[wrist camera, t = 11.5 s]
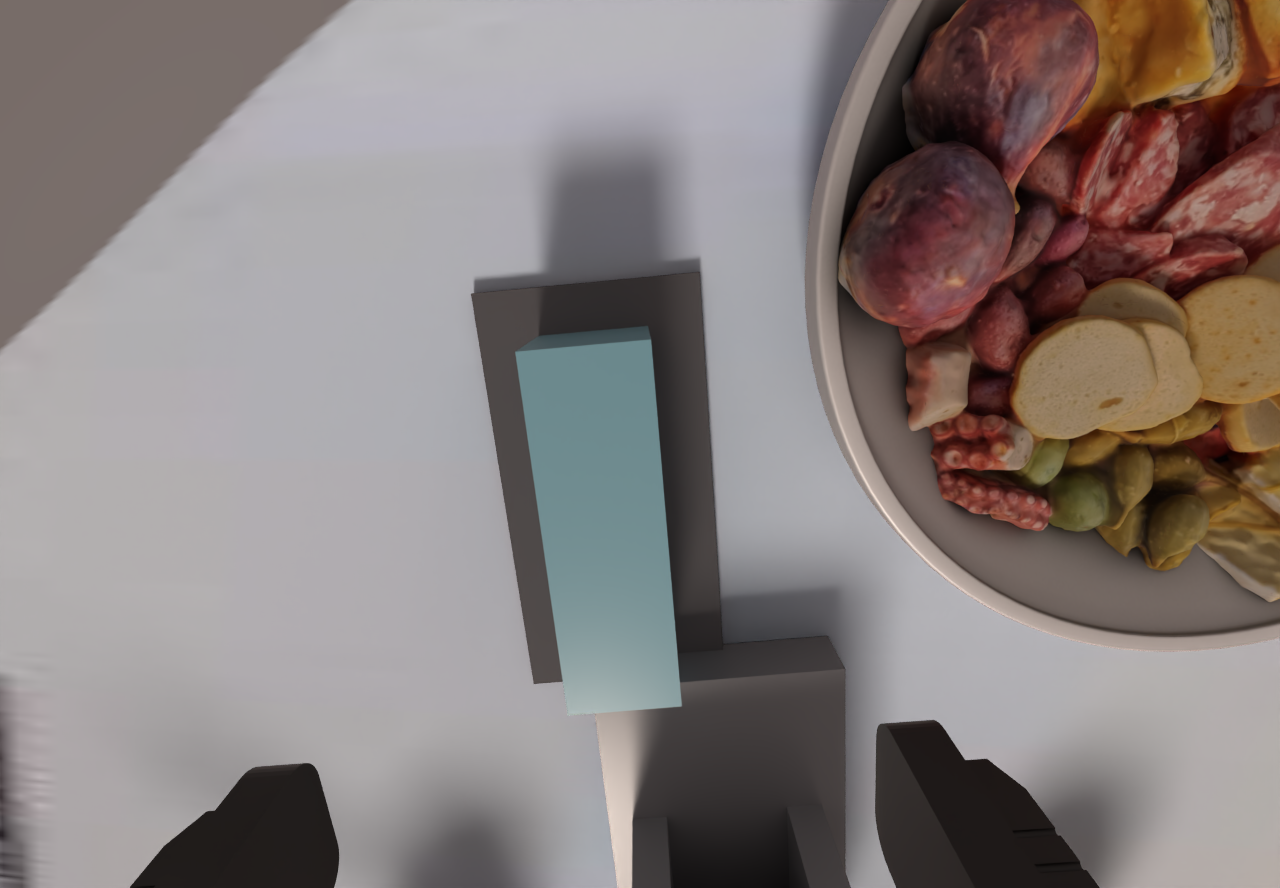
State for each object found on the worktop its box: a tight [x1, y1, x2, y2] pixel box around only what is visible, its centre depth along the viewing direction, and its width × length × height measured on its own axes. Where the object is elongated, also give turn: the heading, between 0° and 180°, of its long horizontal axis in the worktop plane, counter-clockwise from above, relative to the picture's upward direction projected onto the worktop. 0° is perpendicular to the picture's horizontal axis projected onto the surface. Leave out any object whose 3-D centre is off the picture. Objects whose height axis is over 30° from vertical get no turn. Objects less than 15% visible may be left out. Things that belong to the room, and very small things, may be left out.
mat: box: [471, 272, 723, 684], centre depth 27 cm, size 9×18×1 cm, turn 5°
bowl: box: [805, 0, 1280, 652], centre depth 21 cm, size 30×30×8 cm
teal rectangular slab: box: [515, 326, 682, 716], centre depth 24 cm, size 4×14×5 cm, turn 5°
